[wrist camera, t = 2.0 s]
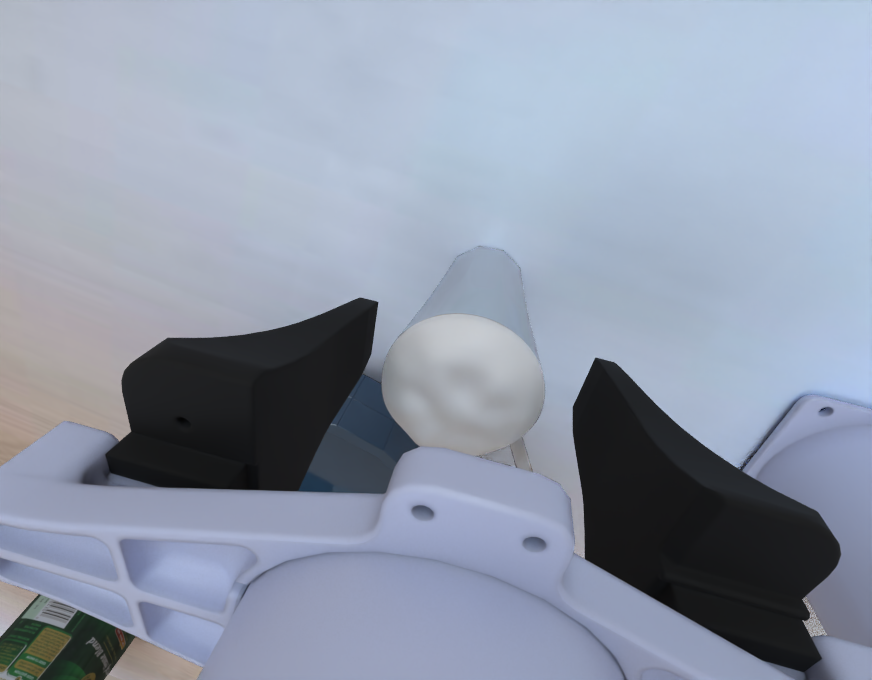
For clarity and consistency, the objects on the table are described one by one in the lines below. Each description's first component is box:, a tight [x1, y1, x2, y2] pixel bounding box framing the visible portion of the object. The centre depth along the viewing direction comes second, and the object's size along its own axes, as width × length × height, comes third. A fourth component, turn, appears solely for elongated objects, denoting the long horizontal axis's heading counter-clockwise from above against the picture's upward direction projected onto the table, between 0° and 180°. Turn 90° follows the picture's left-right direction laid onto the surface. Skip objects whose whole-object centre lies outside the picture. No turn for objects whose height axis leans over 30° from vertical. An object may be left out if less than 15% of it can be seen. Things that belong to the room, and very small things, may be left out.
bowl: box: [298, 374, 420, 494], centre depth 24 cm, size 14×14×4 cm
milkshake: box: [382, 246, 545, 472], centre depth 15 cm, size 4×5×10 cm
